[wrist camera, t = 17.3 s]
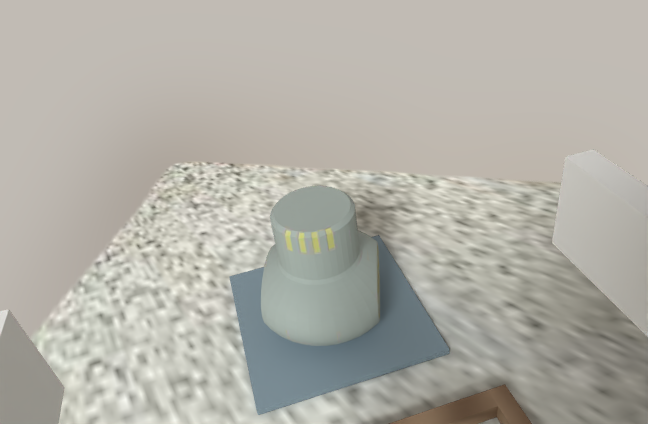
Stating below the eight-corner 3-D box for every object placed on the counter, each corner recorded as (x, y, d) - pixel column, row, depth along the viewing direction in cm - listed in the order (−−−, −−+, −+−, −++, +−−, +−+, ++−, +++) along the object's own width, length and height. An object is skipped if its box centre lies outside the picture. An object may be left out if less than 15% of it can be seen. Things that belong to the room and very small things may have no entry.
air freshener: (380, 365, 37) (371, 259, 31) (265, 366, 38) (235, 263, 32) (380, 261, 45) (373, 162, 40) (286, 264, 47) (266, 168, 41)
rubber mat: (379, 239, 49) (378, 235, 48) (449, 353, 38) (449, 349, 37) (230, 280, 46) (229, 276, 46) (258, 414, 35) (256, 410, 35)
